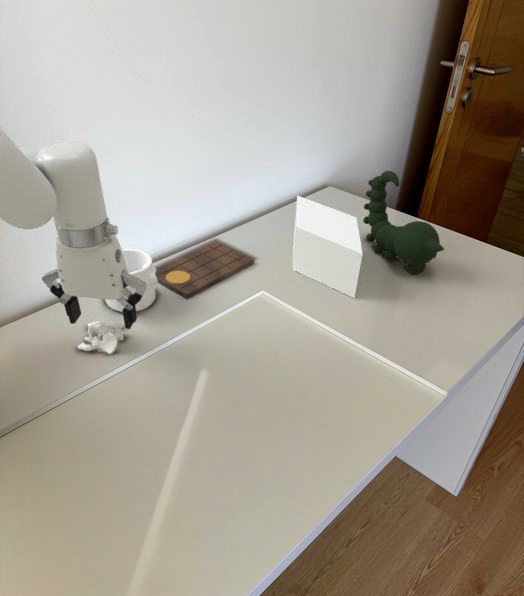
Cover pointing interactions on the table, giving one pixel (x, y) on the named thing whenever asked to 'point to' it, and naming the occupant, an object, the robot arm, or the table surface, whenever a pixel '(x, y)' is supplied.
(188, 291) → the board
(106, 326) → the crumpled tissue wad
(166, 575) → the table surface
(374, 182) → the toy figurine
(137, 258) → the mug
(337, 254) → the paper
